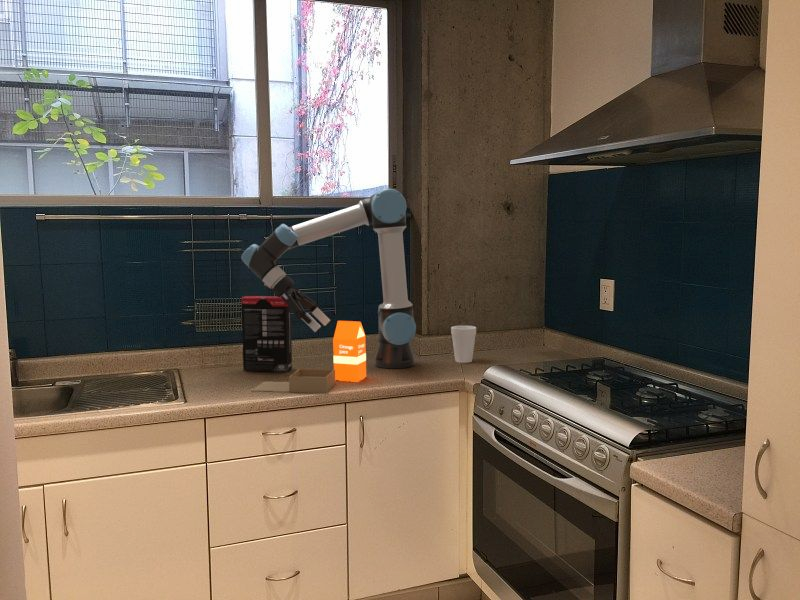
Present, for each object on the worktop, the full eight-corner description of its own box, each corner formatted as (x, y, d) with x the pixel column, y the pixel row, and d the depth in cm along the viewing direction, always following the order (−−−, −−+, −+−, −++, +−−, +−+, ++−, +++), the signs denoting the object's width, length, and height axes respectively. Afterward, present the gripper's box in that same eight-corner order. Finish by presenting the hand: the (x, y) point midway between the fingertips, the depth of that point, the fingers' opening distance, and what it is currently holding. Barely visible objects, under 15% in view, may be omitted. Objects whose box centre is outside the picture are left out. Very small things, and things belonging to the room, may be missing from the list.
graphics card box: (293, 368, 255) (291, 295, 252) (288, 372, 248) (286, 297, 245) (248, 368, 257) (245, 295, 254) (242, 372, 250) (239, 297, 247)
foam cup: (480, 360, 266) (480, 326, 264) (469, 364, 258) (469, 330, 257) (458, 357, 271) (458, 324, 269) (446, 361, 263) (446, 328, 262)
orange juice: (357, 382, 233) (356, 323, 230) (333, 380, 236) (332, 322, 233) (366, 377, 240) (365, 320, 237) (343, 375, 243) (342, 319, 241)
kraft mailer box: (335, 384, 230) (335, 369, 230) (327, 392, 219) (326, 377, 218) (264, 382, 233) (263, 368, 233) (252, 391, 222) (251, 376, 221)
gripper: (282, 286, 250) (324, 327, 250) (259, 294, 225) (305, 340, 225) (296, 271, 248) (338, 313, 248) (275, 277, 224) (321, 324, 224)
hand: (323, 326), depth 237 cm, fingers open, 13 cm apart
